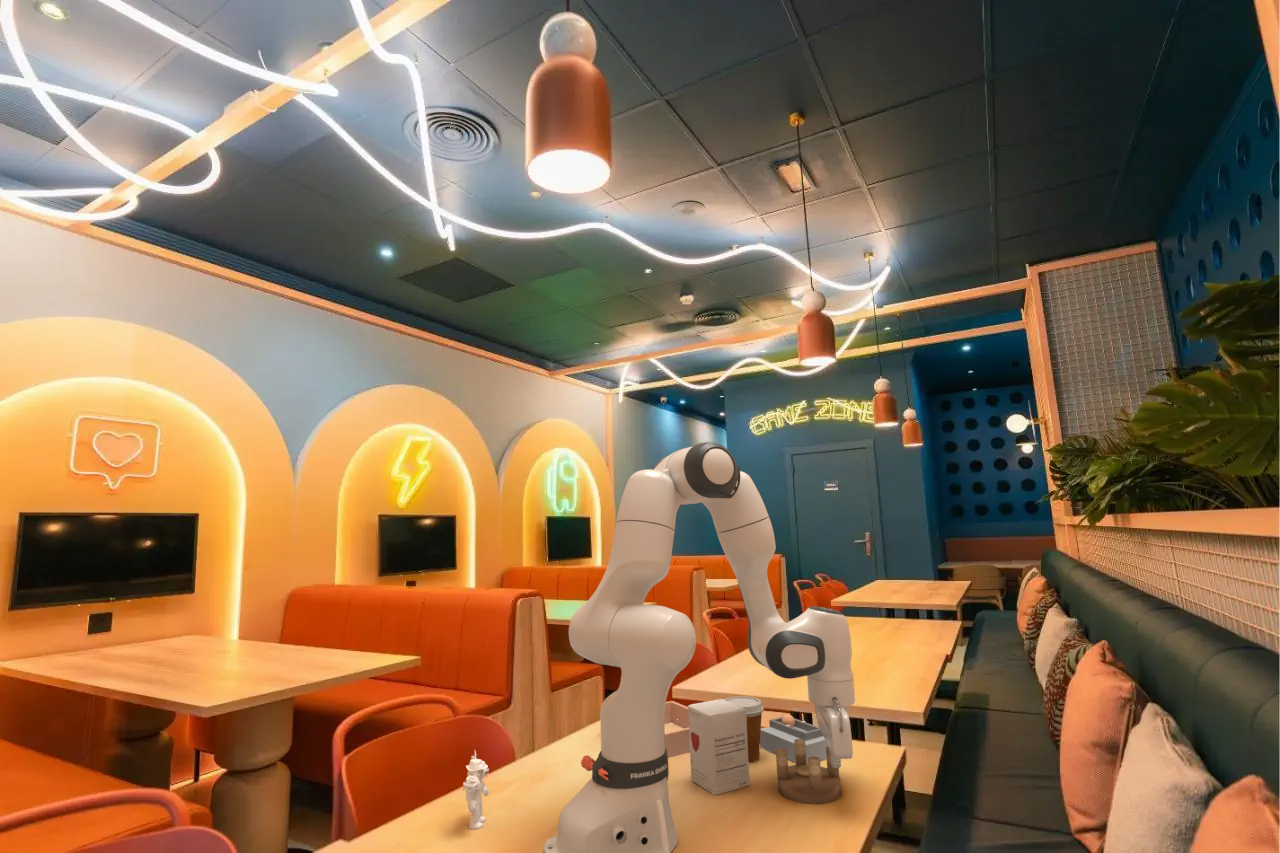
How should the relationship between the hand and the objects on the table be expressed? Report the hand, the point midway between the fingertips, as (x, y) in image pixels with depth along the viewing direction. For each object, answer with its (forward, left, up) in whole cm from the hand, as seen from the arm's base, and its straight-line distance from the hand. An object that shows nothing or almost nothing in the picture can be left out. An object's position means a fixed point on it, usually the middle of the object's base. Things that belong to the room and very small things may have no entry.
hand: (835, 766), depth 124 cm
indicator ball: (+11, +25, 0) cm, 27 cm away
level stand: (+11, +21, -5) cm, 24 cm away
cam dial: (-3, +4, -5) cm, 7 cm away
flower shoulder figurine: (-62, +28, -5) cm, 68 cm away
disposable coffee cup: (-2, +25, -5) cm, 26 cm away
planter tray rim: (-11, +46, -5) cm, 48 cm away
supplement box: (-15, +17, -5) cm, 24 cm away
